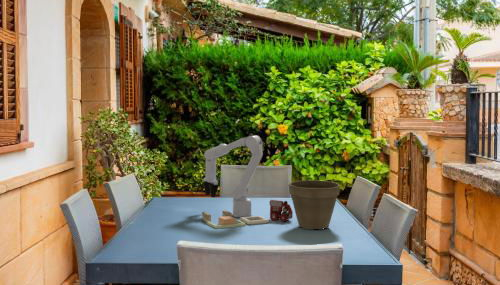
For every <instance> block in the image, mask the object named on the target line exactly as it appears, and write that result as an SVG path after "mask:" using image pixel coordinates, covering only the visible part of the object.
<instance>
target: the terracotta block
mask: <svg viewBox="0 0 500 285" xmlns="http://www.w3.org/2000/svg"><path fill="white" fill-rule="evenodd" d="M235 219H236V217H234V216H232V217H230V216H225V217H222V216H218V225H229V224H236V222H235Z"/></svg>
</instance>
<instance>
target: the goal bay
mask: <svg viewBox="0 0 500 285" xmlns="http://www.w3.org/2000/svg"><path fill="white" fill-rule="evenodd" d="M206 225H208V226H210V227H211V228H214V229H216V230H217V229H225V228H227V229H228V228H235V227H236V228H237V227H245V226H246V225H247V224H246V223H244V222H241V221H240V219H237V218H235V224H229V225H219V224H218V225H217V224H215V223H213V222H212V221H211V222H209V221H208V222H206Z"/></svg>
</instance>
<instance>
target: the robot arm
mask: <svg viewBox="0 0 500 285" xmlns="http://www.w3.org/2000/svg"><path fill="white" fill-rule="evenodd" d="M263 144H264V143H263V140H262V138H261V137H260V136H259V135H255V134H254V135H250V136H246V137H242V138H240V139H238V140H234V141H232V142H230V143H228V144H226V143H220V144H219V145H217V146H215V147H214V146H213V147H212V148H211V149H210V148H209V149H207V150H205V151H204V154H203V156H204V158H205V177H204V178H203V180H202V183H201V184H202V186H203V189H204V194H205V196H210V197H211V198H216V195H217V192H218V189H219V187H220V184H218V183H219V182H218V180H217V159H218V158H220V157H222V156H225V155H227V154H229V153H230V151H231V150H233V149H237V148H239V147H241V146H242V147H246V148H248V150H249V151H250V153H251V157H250V160H249V162H248V164H247V166H246V168H245V170H244V172H243V174H242V176H241V178H240V181H239V182H238V183H237V184H236V187H234V188H233V189H232V191H231V196H232V212H231V213H232V217H233V218H240V217H252V202H251V199H250V198H248V197H247V196H248V194H249V187H250V183H251V181H252V179H253V176H254V174H255V172H256V170H257V168H258V166H259V164H260V161H261V160H262V158H263V155H264V154H263V153H264V152H263Z"/></svg>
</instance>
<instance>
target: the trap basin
mask: <svg viewBox="0 0 500 285" xmlns="http://www.w3.org/2000/svg"><path fill="white" fill-rule="evenodd" d="M239 221H241V222H244V223H246V225H249V226H252V225H262V224H264V223H265V224H269V219H267V218H266V217H263V216H260V215H253V216H245V217H239Z"/></svg>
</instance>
